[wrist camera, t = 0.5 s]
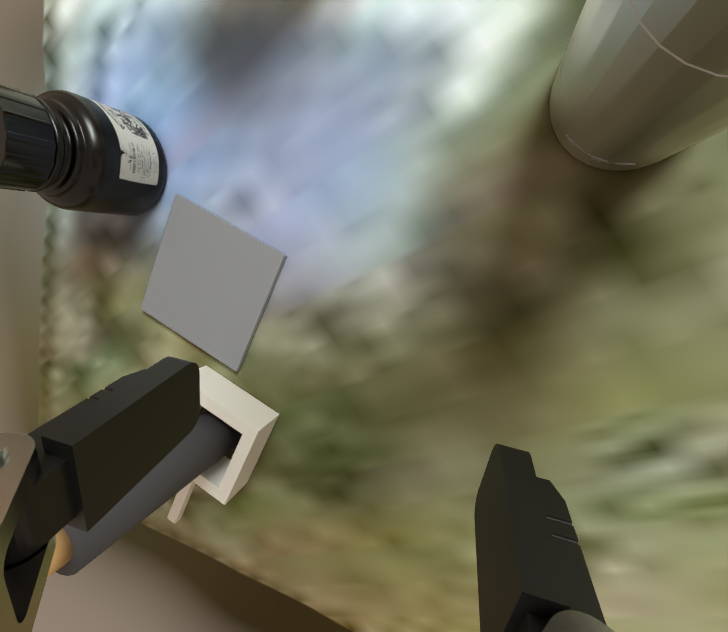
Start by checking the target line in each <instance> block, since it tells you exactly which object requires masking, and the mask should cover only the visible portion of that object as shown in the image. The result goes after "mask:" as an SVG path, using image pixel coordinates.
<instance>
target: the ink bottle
mask: <svg viewBox="0 0 728 632" xmlns="http://www.w3.org/2000/svg"><path fill="white" fill-rule="evenodd" d="M165 179H166V159H165V154H164V151H163V148H162V146H161V143H160V141H159V139H158V138H157V136H156V134H155V133H154V132H153V130H152V129H151V128H150V127H149V126H148V125H147V124H146V123H145V122H143V121H142V120H141V119H139V118H137V117H135V116H133V115H130V114H128V113H125V112H122V111H120V110H117V109H114V108H112V107H109V106H106V105H104V104H101V103H99V102H96V101H93V100H91V99H88V98H85V97H82V96H80V95H77V94H74V93H71V92H68V91H63V90H51V91H47V92H44V93H42V94H40V95H38V96H35V95H32V94H28V93H25V92H22V91H20V90H17V89H14V88H11V87H9V86H6V85H2V84H0V188H1V189H10V190H18V191H29V192H37V193H38V194H39V195H40V196H41V197H42V198H43V199H44V200H46V201H47V202H48V203H50V204H52V205H54V206H56V207H59V208H62V209H66V210H74V211H84V212H95V213H106V214H117V215H138V214H141V213H143V212H145V211H146V210H148V209H149V208H150V207H151V206H152V205H153V204H154V203H155V202H156V200H157V199H158V197H159V196H160V194H161V192H162V189H163V186H164V183H165Z"/></svg>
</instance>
